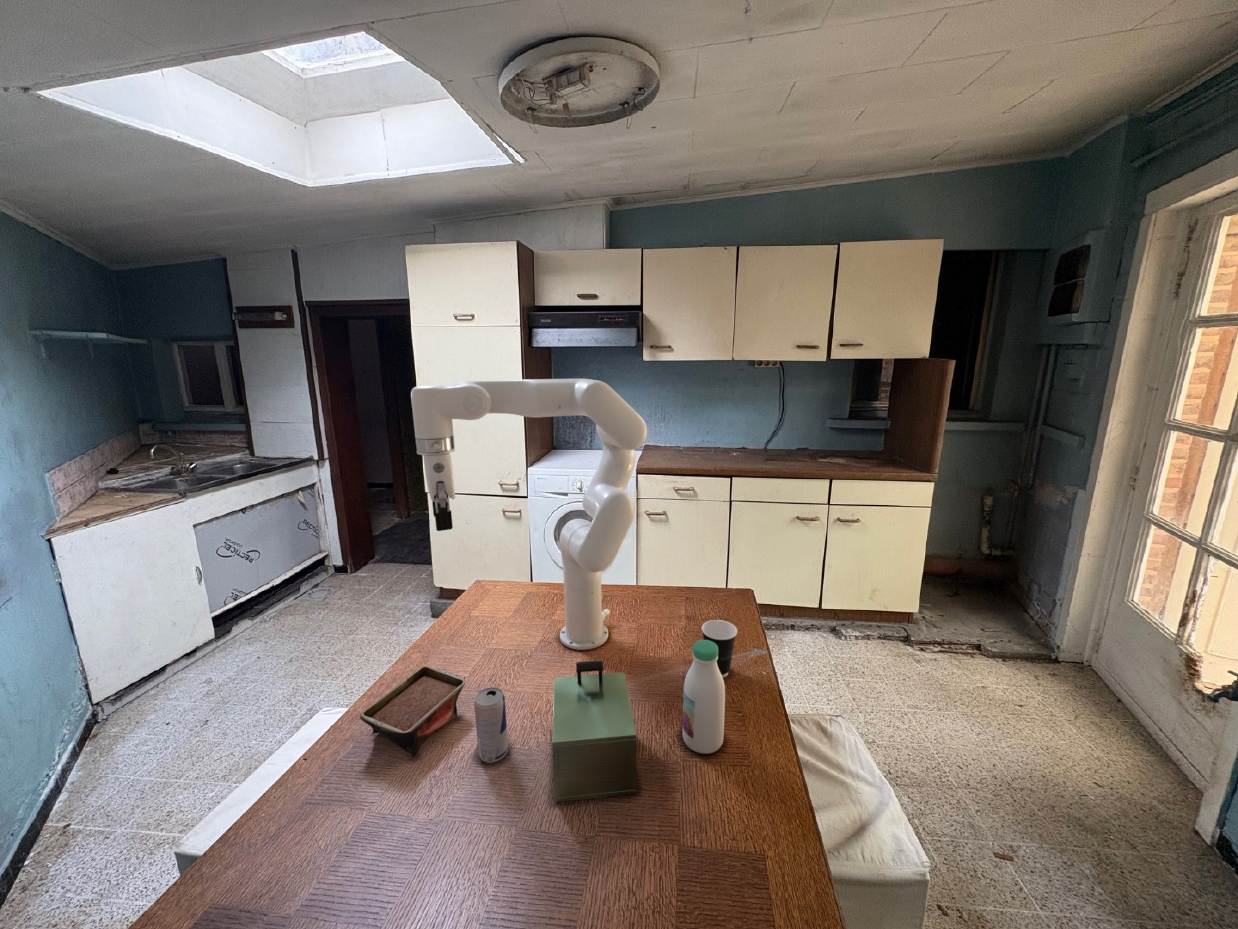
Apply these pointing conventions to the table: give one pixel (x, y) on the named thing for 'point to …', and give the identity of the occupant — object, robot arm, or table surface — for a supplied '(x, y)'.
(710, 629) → the dixie cup
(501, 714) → the energy drink
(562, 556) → the robot arm
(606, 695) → the bin lid
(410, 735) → the rectangular footed planter
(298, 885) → the table surface
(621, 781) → the bin
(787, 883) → the table surface
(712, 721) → the milk bottle
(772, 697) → the table surface
